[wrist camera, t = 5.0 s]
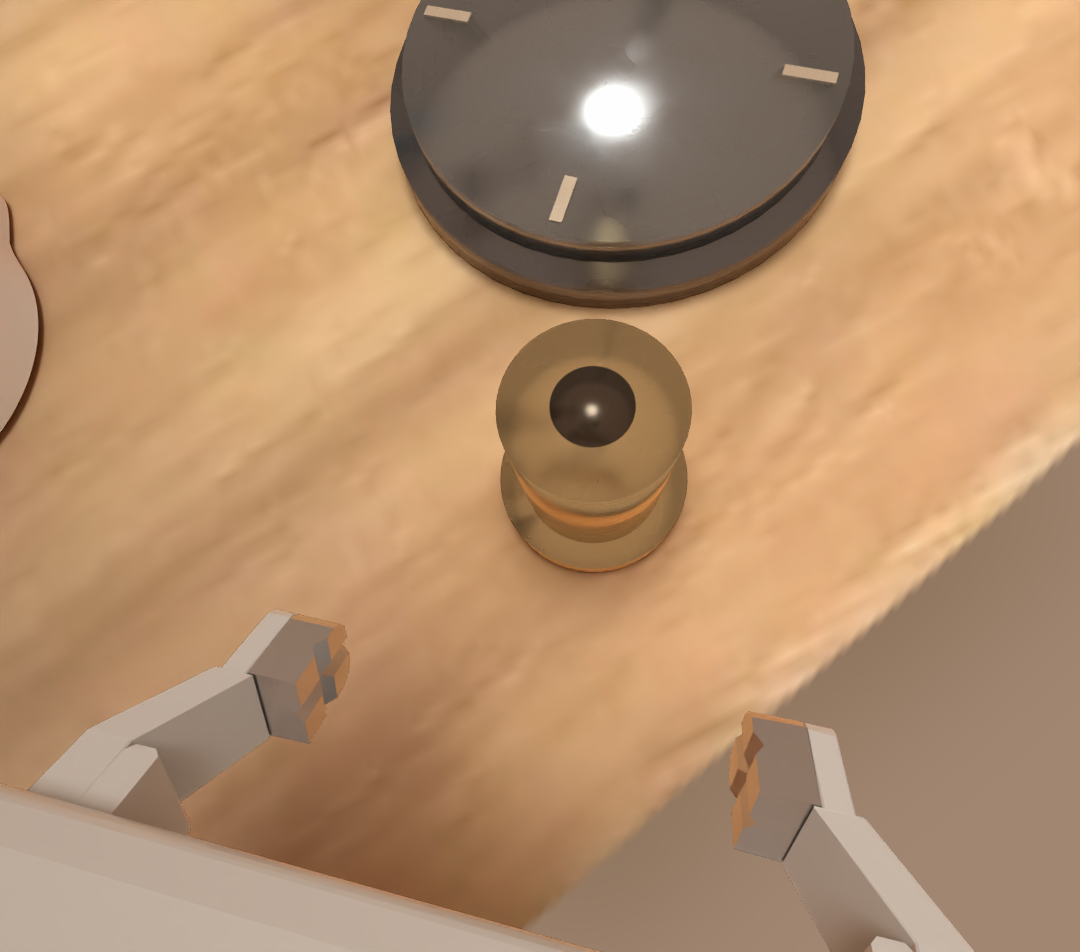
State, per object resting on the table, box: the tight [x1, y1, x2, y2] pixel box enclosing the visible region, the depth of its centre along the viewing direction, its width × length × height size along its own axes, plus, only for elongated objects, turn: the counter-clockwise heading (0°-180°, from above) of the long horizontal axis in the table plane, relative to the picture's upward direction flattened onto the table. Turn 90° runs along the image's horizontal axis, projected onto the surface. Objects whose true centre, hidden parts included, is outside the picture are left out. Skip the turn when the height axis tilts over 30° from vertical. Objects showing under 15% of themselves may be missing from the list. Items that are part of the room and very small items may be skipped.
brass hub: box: [496, 319, 692, 572], centre depth 19 cm, size 7×7×8 cm
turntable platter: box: [402, 0, 854, 263], centre depth 25 cm, size 18×18×2 cm
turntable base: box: [390, 17, 865, 308], centre depth 26 cm, size 20×20×2 cm
